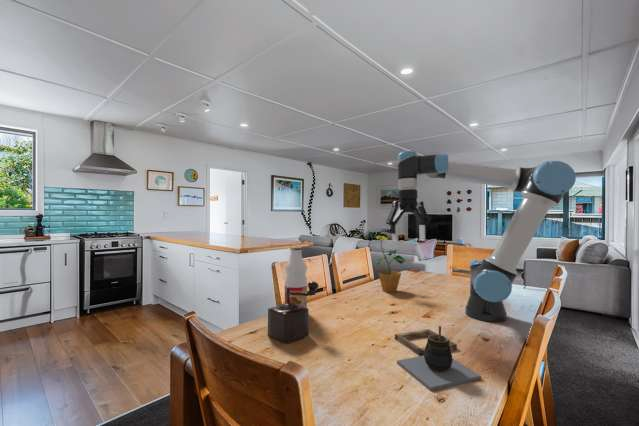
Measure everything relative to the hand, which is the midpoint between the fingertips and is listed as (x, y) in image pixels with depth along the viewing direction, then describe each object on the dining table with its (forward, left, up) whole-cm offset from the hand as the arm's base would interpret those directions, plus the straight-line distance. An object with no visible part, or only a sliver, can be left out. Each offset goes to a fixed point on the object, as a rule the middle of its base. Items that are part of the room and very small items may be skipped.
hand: (409, 241), depth 125 cm
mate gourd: (+18, +38, -30) cm, 52 cm away
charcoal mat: (+19, +38, -31) cm, 53 cm away
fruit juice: (+43, -19, -31) cm, 56 cm away
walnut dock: (+11, +23, -31) cm, 40 cm away
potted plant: (-15, -38, -31) cm, 51 cm away
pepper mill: (+49, +1, -31) cm, 58 cm away
